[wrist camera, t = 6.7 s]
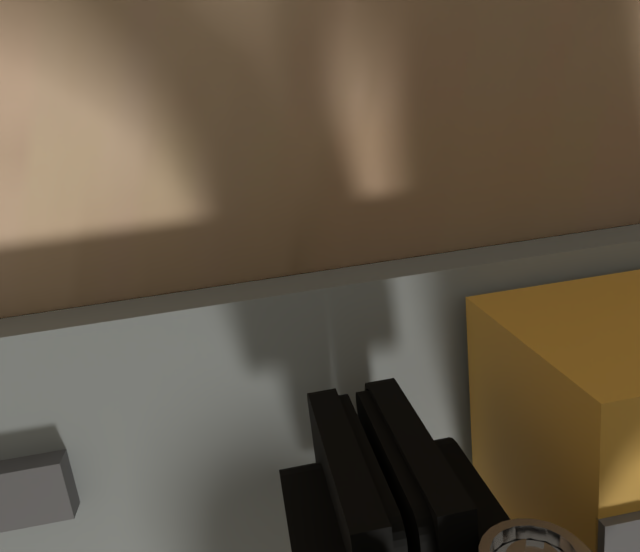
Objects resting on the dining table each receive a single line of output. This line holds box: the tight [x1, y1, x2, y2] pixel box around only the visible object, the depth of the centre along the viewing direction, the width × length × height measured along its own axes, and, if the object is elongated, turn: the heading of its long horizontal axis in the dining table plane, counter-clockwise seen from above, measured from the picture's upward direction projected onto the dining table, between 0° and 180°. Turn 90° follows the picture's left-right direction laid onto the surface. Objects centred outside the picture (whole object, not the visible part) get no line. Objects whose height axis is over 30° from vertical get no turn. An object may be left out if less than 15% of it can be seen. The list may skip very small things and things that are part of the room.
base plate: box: [0, 224, 640, 552], centre depth 13 cm, size 23×6×2 cm, turn 96°
